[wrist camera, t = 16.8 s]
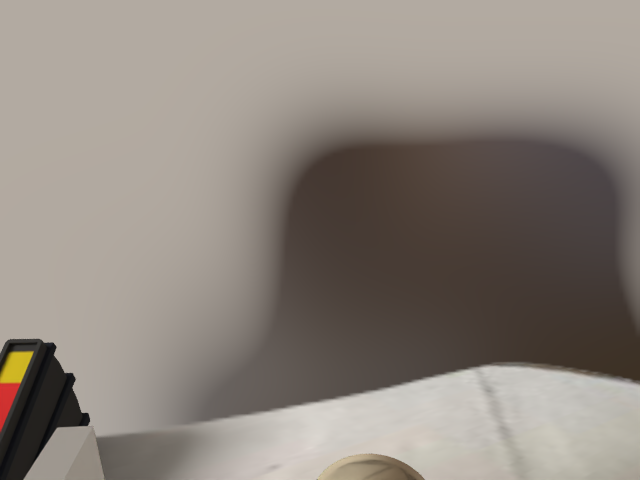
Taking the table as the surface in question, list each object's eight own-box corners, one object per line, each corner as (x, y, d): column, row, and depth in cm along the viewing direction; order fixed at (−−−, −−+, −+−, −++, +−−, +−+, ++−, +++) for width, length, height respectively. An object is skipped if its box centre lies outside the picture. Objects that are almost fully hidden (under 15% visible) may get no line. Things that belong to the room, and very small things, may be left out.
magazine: (103, 407, 54) (48, 335, 42) (63, 547, 45) (-19, 502, 34) (68, 407, 54) (4, 336, 42) (22, 548, 45) (-75, 503, 34)
